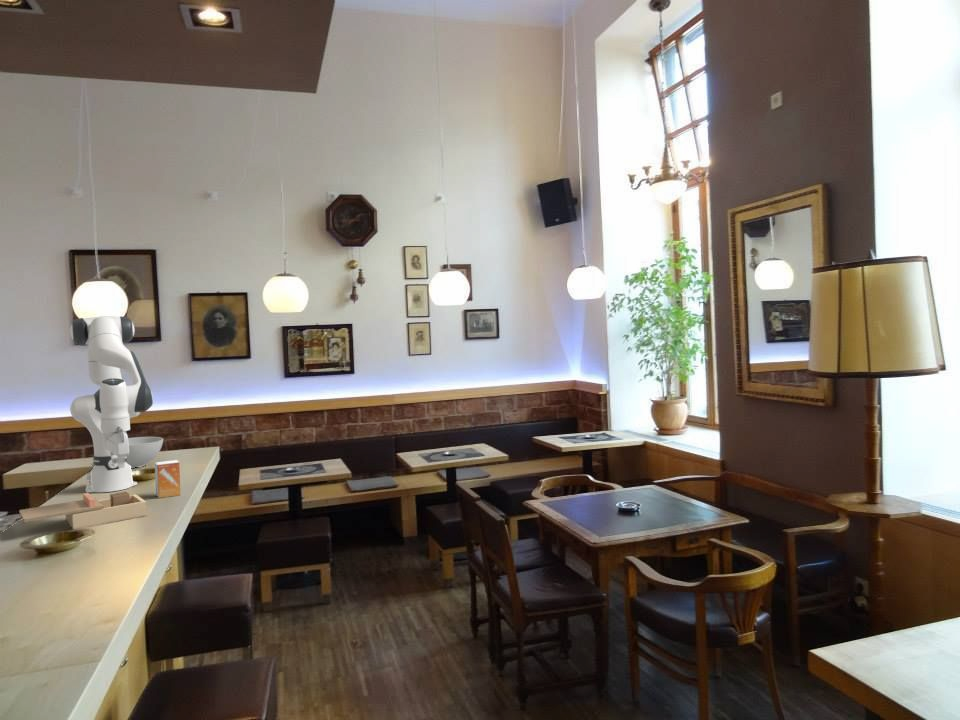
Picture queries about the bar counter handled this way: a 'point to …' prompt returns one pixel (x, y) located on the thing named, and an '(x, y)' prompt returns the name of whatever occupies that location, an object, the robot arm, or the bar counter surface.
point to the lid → (61, 508)
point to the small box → (167, 478)
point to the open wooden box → (108, 513)
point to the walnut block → (119, 499)
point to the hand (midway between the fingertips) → (118, 465)
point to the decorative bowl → (143, 450)
